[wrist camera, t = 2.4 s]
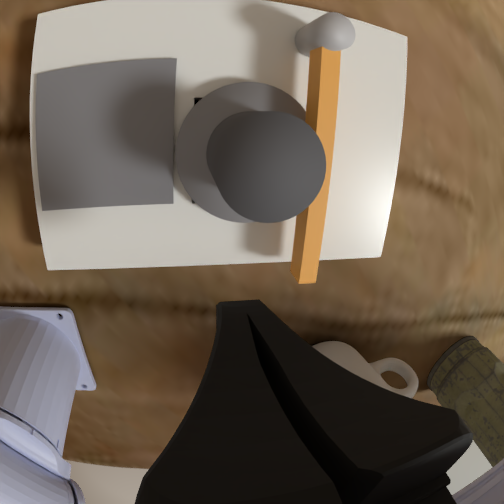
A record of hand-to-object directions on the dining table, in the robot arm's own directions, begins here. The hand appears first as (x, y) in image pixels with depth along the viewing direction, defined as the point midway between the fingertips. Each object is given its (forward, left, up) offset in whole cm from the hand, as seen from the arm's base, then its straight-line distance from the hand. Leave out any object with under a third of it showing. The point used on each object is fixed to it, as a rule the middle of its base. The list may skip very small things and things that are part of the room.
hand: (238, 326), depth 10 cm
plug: (+1, +4, -10) cm, 11 cm away
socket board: (0, +5, -10) cm, 11 cm away
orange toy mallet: (+4, +5, -7) cm, 10 cm away
